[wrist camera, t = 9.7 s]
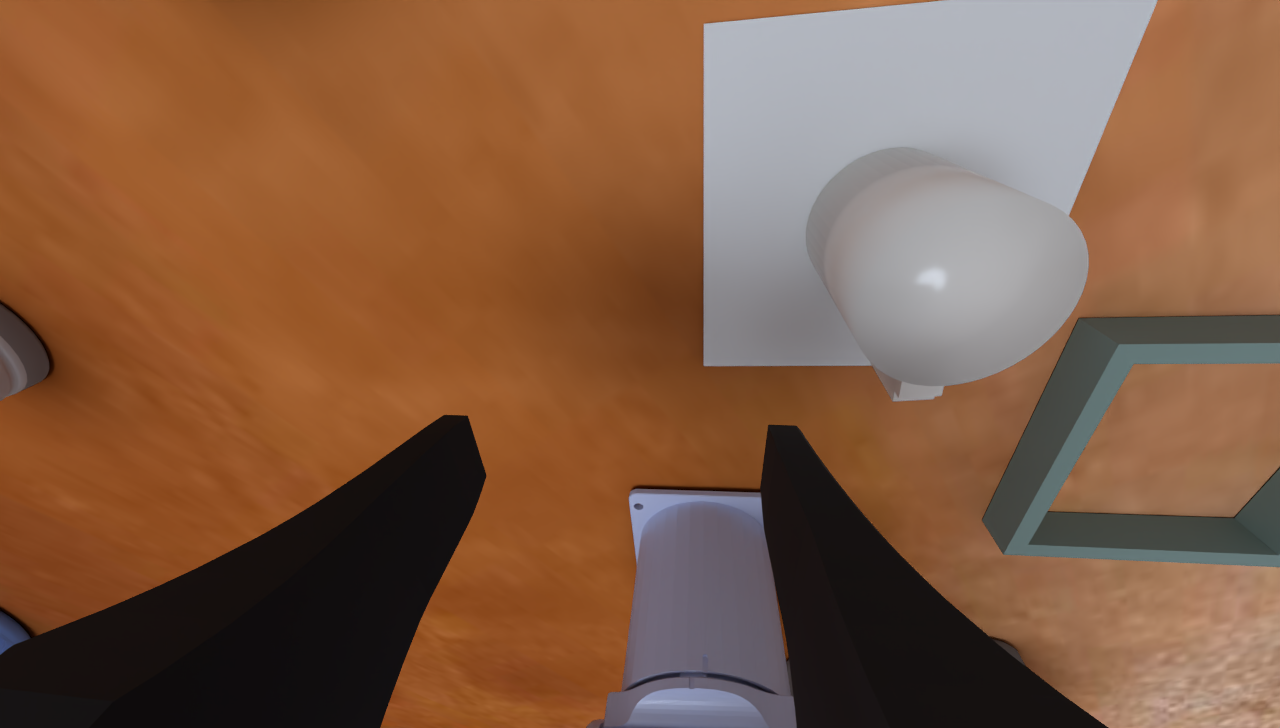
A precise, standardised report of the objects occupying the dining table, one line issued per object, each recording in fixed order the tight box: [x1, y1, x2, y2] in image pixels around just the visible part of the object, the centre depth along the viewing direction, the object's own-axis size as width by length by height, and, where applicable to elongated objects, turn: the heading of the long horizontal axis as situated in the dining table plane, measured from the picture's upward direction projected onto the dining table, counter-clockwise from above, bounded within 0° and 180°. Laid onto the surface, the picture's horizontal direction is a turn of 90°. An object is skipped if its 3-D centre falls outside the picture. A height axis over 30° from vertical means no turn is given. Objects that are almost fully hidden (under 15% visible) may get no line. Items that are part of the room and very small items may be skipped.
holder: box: [982, 315, 1280, 567], centre depth 19 cm, size 12×12×2 cm
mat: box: [704, 0, 1158, 366], centre depth 16 cm, size 12×12×1 cm
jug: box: [806, 147, 1089, 402], centre depth 14 cm, size 7×5×6 cm
